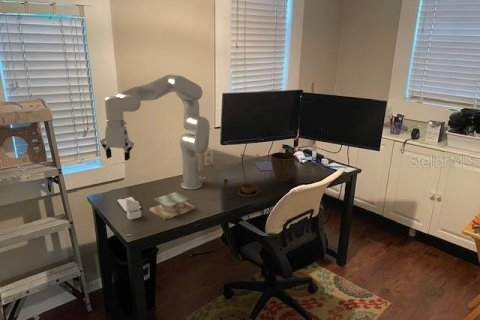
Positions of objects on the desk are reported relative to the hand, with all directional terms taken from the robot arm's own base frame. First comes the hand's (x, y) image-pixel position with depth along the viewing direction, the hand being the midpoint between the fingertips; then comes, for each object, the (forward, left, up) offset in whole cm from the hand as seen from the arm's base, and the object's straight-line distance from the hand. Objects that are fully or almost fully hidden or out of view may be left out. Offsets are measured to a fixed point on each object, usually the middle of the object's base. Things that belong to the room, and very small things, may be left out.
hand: (118, 158), depth 173 cm
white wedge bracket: (-1, +9, -28) cm, 30 cm away
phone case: (-5, -4, -29) cm, 29 cm away
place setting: (-63, +22, -29) cm, 73 cm away
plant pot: (-92, +26, -28) cm, 100 cm away
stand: (-19, +15, -28) cm, 37 cm away
